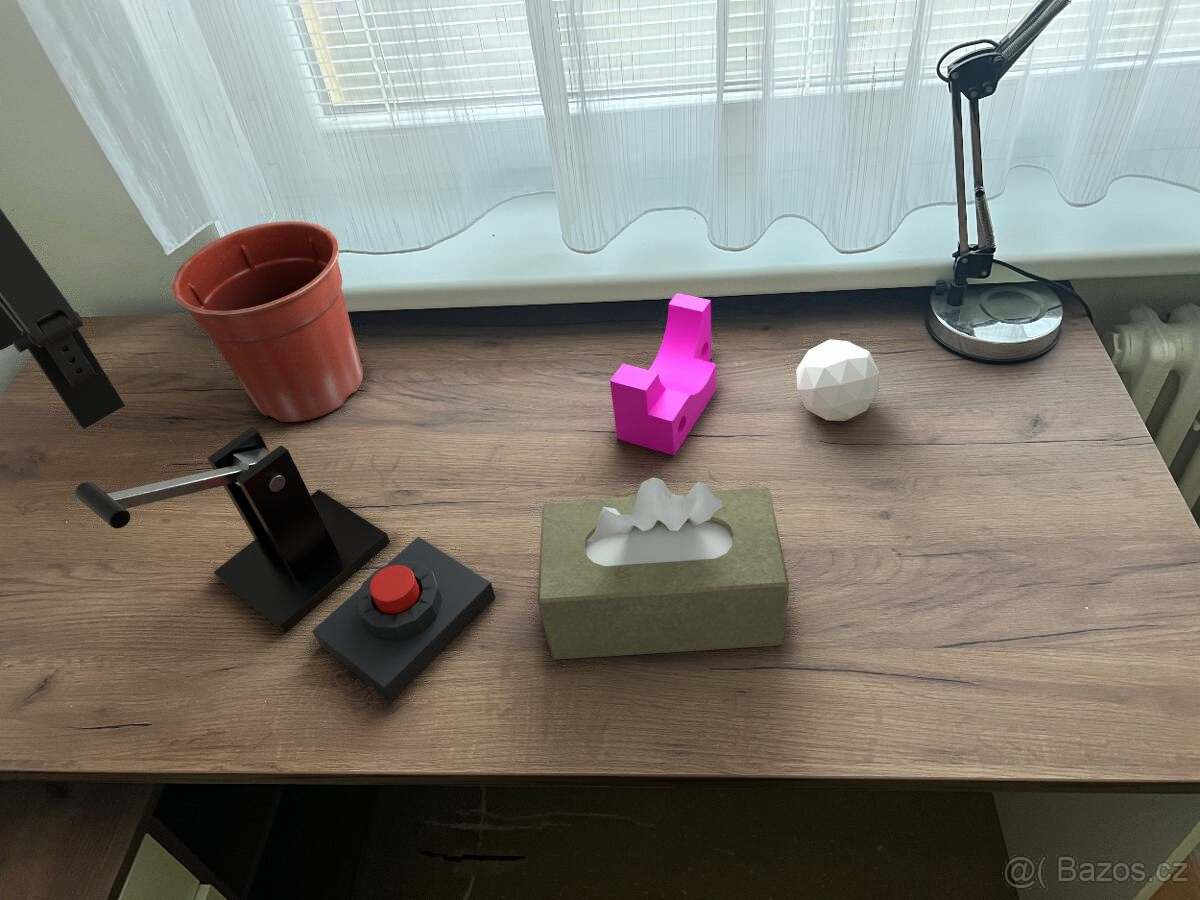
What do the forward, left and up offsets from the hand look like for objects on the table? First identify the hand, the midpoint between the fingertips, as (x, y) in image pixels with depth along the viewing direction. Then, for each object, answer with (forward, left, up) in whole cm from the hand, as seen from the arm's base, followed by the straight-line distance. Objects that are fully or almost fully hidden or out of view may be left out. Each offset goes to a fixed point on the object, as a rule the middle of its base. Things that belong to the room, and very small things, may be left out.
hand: (57, 375), depth 58 cm
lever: (+2, -2, -13) cm, 13 cm away
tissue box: (+22, -32, -27) cm, 47 cm away
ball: (+51, -32, -27) cm, 66 cm away
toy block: (+44, -18, -27) cm, 54 cm away
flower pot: (+24, +18, -27) cm, 40 cm away
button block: (+9, -15, -27) cm, 32 cm away
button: (+9, -15, -23) cm, 29 cm away
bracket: (+8, -2, -27) cm, 28 cm away
